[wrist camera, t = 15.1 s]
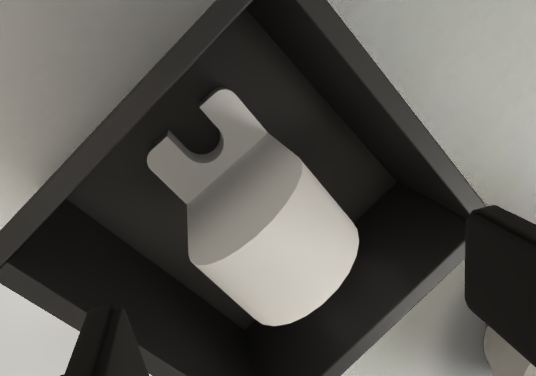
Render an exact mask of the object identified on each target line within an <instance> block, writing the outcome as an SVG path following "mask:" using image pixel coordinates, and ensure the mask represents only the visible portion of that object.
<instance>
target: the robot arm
mask: <svg viewBox="0 0 536 376" xmlns="http://www.w3.org/2000/svg"><path fill="white" fill-rule="evenodd" d="M465 301H466V303H467V305H468V307H469V308H470V310H471V311H472V312H474V313H475V314H476V315H477V316H478V317H479V318H480V319H481V320H483V321H484V322H485V323H486V324H487V325H488V326H489V327H491V328H492V329H493V330H494V331H495V332H496V333H497V334H498V335H500V336H501V337H502V338H503V339H504V340H505V341H506V342H507V343H509V344H510V345H511V346H512V347H513V348H514V349H515V350H516V351H518V352H519V353H520V354H521V355H522V356H523V357H524V358H525V359H527V360H528V361H529V362H530V363H531V364H532V365H533V366H534V367H536V225H535V224H533V223H531V222H529V221H527V220H525V219H523V218H521V217H519V216H517V215H515V214H513V213H510V212H508V211H506V210H504V209H502V208H500V207H498V206H495V205H491V206H487V207H483V208H479V209H475V210H473V211H471V213H470V216H469V217H468V218H467V219H466V225H465ZM61 376H149V374H148V371H147V369H146V366H145V363H144V360H143V358H142V355H141V352H140V349H139V347H138V344H137V341H136V338H135V336H134V333H133V330H132V327H131V325H130V322H129V319H128V316H127V314H126V311H125V309H124V308H119V309H117V307H116V306H115V305H114V304H110V305H107V306H103V307H99V308H95V309H91V310H89V311H88V313H87V315H86V318H85V320H84V323H83V326H82V328H81V331H80V334H79V337H78V339H77V342H76V345H75V348H74V350H73V353H72V356H71V358H70V361H69V364H68V367H67V369H66V372H65V374H64V375H61Z"/></svg>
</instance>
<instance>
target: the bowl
mask: <svg viewBox="0 0 536 376" xmlns="http://www.w3.org/2000/svg"><path fill="white" fill-rule="evenodd" d="M483 347H484V353H485V357H486V359H487V361H488V363H489V364H490V365H491V370H492V376H536V367H534V366H533V365H532V364H531V363H530V362H529V361H528V360H527V359H525V358H524V357H523V356H522V355H521V354H520V353H519V352H518V351H516V350H515V349H514V348H513V347H512V346H511V345H510V344H509V343H507V342H506V341H505V340H504V339H503V338H502V337H501V336H500V335H498V334H497V333H496V332H495V331H494V330H493V329H492V328H491V327H489V326H487V329H486V332H485V336H484V346H483Z"/></svg>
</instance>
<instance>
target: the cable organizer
mask: <svg viewBox="0 0 536 376" xmlns="http://www.w3.org/2000/svg"><path fill="white" fill-rule="evenodd" d="M198 106H199V108H200V109H201V110H202V111H203V112H204V113H205V114H206V116H207V117H208V118H209V119H210V120H211V121H212V122H213V123H214V124H215V126H216V127H217V128H218V129H219V131H220V141H219V143H218V145H217V147H216V148H215V149H214V150H213V151H211V152H210V153H207V154H202V155H200V154H195V153H192V152H190V151H189V150H188V149H187V148H186V147H185V146H184V145H183V144H182V143H181V142H180V141H179V140H178V139H177V138H176V137H175V136H174V135H173V134H172V133H171V132H170V131H169V130H168V131H166V132H165V133H164V134H163V135H162V136H161V137H160V138H159V139H158V140H156V141H155V142H154V143H153V144H152V146H151V148H150V151H149V154H148V156H147V164H148V167H149V168H150V169H151V170H152V171H153V172H154V173H155V174H156V175H157V176H158V177H159V178H160V179H161V180H162V181H163V182H164V183H165V184H166V185H167V186H168V187H169V188H170V189H171V190H172V191H173V192H174V193H175V194H176V195H177V196H178V197H179V198H180V199H182V200H183V201H184V202H185V203H186V204H187V227H188V255H189V258H190V261H191V262H192V263H193V264H194V265H195V266H196V267H197V268H198V269H199V270H201V271H202V272H203V273H204V274H205V275H206V276H207V277H208V278H209V279H211V280H212V281H213V282H214V283H215V284H216V285H217V286H218V287H219V288H221V289H222V290H223V291H224V292H225V293H226V294H227V295H228V296H230V297H231V298H232V299H233V300H234V301H235V302H236V303H237V304H238V305H240V306H241V307H242V308H243V309H244V310H245V311H246V312H247V313H248V314H250V315H251V316H252V317H253V318H254V319H256V320H257V321H258V322H260V323H261V324H263V325H269V326H279V325H285V324H290V323H292V322H294V321H296V320H299V319H301V318H303V317H305V316H307V315H308V314H310V313H311V312H313V311H314V310H315V309H317V308H318V307H320V306H321V305H322V304H324V303H325V302H326V301H327V299H328V298H329V297H330V296H331V295H332V294H333V293H334V292H335V291H336V290H337V289H338V288H339V287H340V285H341V284H342V282H343V281H344V279H345V278H346V277H347V275H348V274H349V272H350V270H351V268H352V265H353V263H354V261H355V259H356V256H357V251H358V245H359V237H358V230H357V228H356V227H355V225H354V224H353V222H352V221H351V219H350V218H349V217H348V216H347V215H346V213H345V212H344V211H343V210H342V209H341V207H340V206H339V205H338V204H337V203H336V201H335V200H334V199H333V198H332V197H331V195H330V194H329V193H328V192H327V191H326V189H325V188H324V187H323V186H322V185H321V183H320V182H319V181H318V180H317V179H316V177H315V176H314V175H313V174H312V173H311V171H310V170H309V169H308V168H307V167H306V165H305V164H304V163H303V162H302V161H301V159H300V158H299V157H298V156H297V155H295V154H294V153H293V152H291V151H290V150H289V149H288V148H286V147H285V146H284V145H283V144H281V143H280V142H279V141H278V140H276V139H275V138H274V137H273V136H271V135H270V134H269V133H268V132H267V131H266V130H265V129H264V128H263V126H262V125H261V124H260V123H259V122H258V120H257V119H256V118H255V117H254V116H253V114H252V113H251V112H250V111H249V110H248V109H247V107H246V106H245V105H244V104H243V103H242V101H241V100H240V99H239V98H238V97H237V96H236V94H234V93H233V92H232V91H230V90H228V89H226V88H223V87H218V88H215V89H213V90H212V91H211V92H210V93H209V94H208V95H206V96H205V97H204V98H203V99H202V100H201V101H200V102H199V103H198Z"/></svg>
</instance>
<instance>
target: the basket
mask: <svg viewBox="0 0 536 376" xmlns="http://www.w3.org/2000/svg"><path fill="white" fill-rule="evenodd" d="M218 87H223V88H226V89H228V90H230V91H232V92H233V93H234V94H236V96H237V97H238V98H239V99H240V100H241V101H242V103H243V104H244V105H245V106H246V107H247V109H248V110H249V111H250V112H251V113H252V114H253V116H254V117H255V118H256V119H257V120H258V122H259V123H260V124H261V125H262V126H263V128H264V129H265V130H266V131H267V132H268V133H269V134H270V135H271V136H273V137H274V138H275V139H276V140H278V141H279V142H280V143H281V144H283V145H284V146H285V147H286V148H288V149H289V150H290V151H291V152H293V153H294V154H295V155H297V156H298V157H299V158H300V159H301V161H302V162H303V163H304V164H305V165H306V167H307V168H308V169H309V170H310V171H311V173H312V174H313V175H314V176H315V177H316V179H317V180H318V181H319V182H320V183H321V185H322V186H323V187H324V188H325V189H326V191H327V192H328V193H329V194H330V195H331V197H332V198H333V199H334V200H335V201H336V203H337V204H338V205H339V206H340V207H341V209H342V210H343V211H344V212H345V213H346V215H347V216H348V217H349V218H350V219H351V221H352V222H353V224H354V225H355V227H356V228H357V230H358V237H359V245H358V251H357V256H356V259H355V261H354V263H353V265H352V268H351V270H350V272H349V274H348V275H347V277H346V278H345V279H344V281H343V282H342V284H341V285H340V287H339V288H338V289H337V290H336V291H335V292H334V293H333V294H332V295H331V296H330V297H329V298H328V299H327V301H326V302H325V303H324V304H322V305H321V306H320V307H318V308H317V309H315V310H314V311H313V312H311V313H310V314H308V315H307V316H305V317H303V318H301V319H299V320H296V321H294V322H292V323H290V324H285V325H279V326H269V325H263V324H261V323H260V322H258V321H257V320H256V319H254V318H253V317H252V316H251V315H250V314H248V313H247V312H246V311H245V310H244V309H243V308H242V307H241V306H240V305H238V304H237V303H236V302H235V301H234V300H233V299H232V298H231V297H230V296H228V295H227V294H226V293H225V292H224V291H223V290H222V289H221V288H219V287H218V286H217V285H216V284H215V283H214V282H213V281H212V280H211V279H209V278H208V277H207V276H206V275H205V274H204V273H203V272H202V271H201V270H199V269H198V268H197V267H196V266H195V265H194V264H193V263H192V262H191V261H190V258H189V255H188V227H187V204H186V203H185V202H184V201H183V200H182V199H180V198H179V197H178V196H177V195H176V194H175V193H174V192H173V191H172V190H171V189H170V188H169V187H168V186H167V185H166V184H165V183H164V182H163V181H162V180H161V179H160V178H159V177H158V176H157V175H156V174H155V173H154V172H153V171H152V170H151V169H150V168H149V167H148V164H147V156H148V154H149V151H150V148H151V146H152V144H153V143H154V142H155V141H156V140H158V139H159V138H160V137H161V136H162V135H163V134H164V133H165V132H166V131H168V130H169V131H170V132H171V133H172V134H173V135H174V136H175V137H176V138H177V139H178V140H179V141H180V142H181V143H182V144H183V145H184V146H185V147H186V148H187V149H188V150H189V151H190V152H192V153H195V154H200V155H202V154H207V153H210V152H211V151H213V150H214V149H215V148H216V147H217V145H218V143H219V141H220V131H219V129H218V128H217V127H216V126H215V124H214V123H213V122H212V121H211V120H210V119H209V118H208V117H207V116H206V114H205V113H204V112H203V111H202V110H201V109H200V108H199V106H198V103H199V102H200V101H201V100H202V99H203V98H204V97H205V96H206V95H208V94H209V93H210V92H211V91H212V90H213V89H215V88H218ZM483 207H487V206H486V205H485V204H484V202H483V201H482V200H481V198H480V197H479V196H478V195H477V193H476V192H475V191H474V189H473V188H472V187H471V186H470V184H469V183H468V182H467V180H466V179H465V178H464V177H463V175H462V174H461V173H460V171H459V170H458V169H457V168H456V166H455V165H454V164H453V162H452V161H451V160H450V159H449V157H448V156H447V155H446V153H445V152H444V151H443V150H442V148H441V147H440V146H439V144H438V143H437V142H436V140H435V139H434V138H433V137H432V135H431V134H430V133H429V131H428V130H427V129H426V128H425V126H424V125H423V124H422V122H421V121H420V120H419V119H418V117H417V116H416V115H415V113H414V112H413V111H412V110H411V108H410V107H409V106H408V104H407V103H406V102H405V101H404V99H403V98H402V97H401V95H400V94H399V93H398V92H397V90H396V89H395V88H394V86H393V85H392V84H391V83H390V81H389V80H388V79H387V77H386V76H385V75H384V74H383V72H382V71H381V70H380V68H379V67H378V66H377V64H376V63H375V62H374V61H373V59H372V58H371V57H370V55H369V54H368V53H367V52H366V50H365V49H364V48H363V46H362V45H361V44H360V43H359V41H358V40H357V39H356V37H355V36H354V35H353V34H352V32H351V31H350V30H349V28H348V27H347V26H346V25H345V23H344V22H343V21H342V19H341V18H340V17H339V16H338V14H337V13H336V12H335V10H334V9H333V8H332V7H331V5H330V4H329V3H328V1H327V0H216V1H215V2H214V3H213V4H212V5H211V6H210V7H209V9H208V10H207V11H206V12H205V13H204V14H203V15H202V16H201V17H200V18H199V19H198V20H197V21H196V22H195V23H194V25H193V26H192V27H191V28H190V29H189V30H188V31H187V32H186V33H185V34H184V35H183V36H182V37H181V38H180V39H179V41H178V42H177V43H176V44H175V45H174V46H173V47H172V48H171V49H170V50H169V51H168V52H167V53H166V54H165V55H164V57H163V58H162V59H161V60H160V61H159V62H158V63H157V64H156V65H155V66H154V67H153V68H152V69H151V70H150V71H149V73H148V74H147V75H146V76H145V77H144V78H143V79H142V80H141V81H140V82H139V83H138V84H137V85H136V86H135V87H134V89H133V90H132V91H131V92H130V93H129V94H128V95H127V96H126V97H125V98H124V99H123V100H122V101H121V102H120V103H119V105H118V106H117V107H116V108H115V109H114V110H113V111H112V112H111V113H110V114H109V115H108V116H107V117H106V118H105V119H104V121H103V122H102V123H101V124H100V125H99V126H98V127H97V128H96V129H95V130H94V131H93V132H92V133H91V134H90V135H89V137H88V138H87V139H86V140H85V141H84V142H83V143H82V144H81V145H80V146H79V147H78V148H77V149H76V150H75V151H74V153H73V154H72V155H71V156H70V157H69V158H68V159H67V160H66V161H65V162H64V163H63V164H62V165H61V166H60V167H59V169H58V170H57V171H56V172H55V173H54V174H53V175H52V176H51V177H50V178H49V179H48V180H47V181H46V182H45V183H44V185H43V186H42V187H41V188H40V189H39V190H38V191H37V192H36V193H35V194H34V195H33V196H32V197H31V198H30V199H29V201H28V202H27V203H26V204H25V205H24V206H23V207H22V208H21V209H20V210H19V211H18V212H17V213H16V214H15V215H14V217H13V218H12V219H11V220H10V221H9V222H8V223H7V224H6V225H5V226H4V227H3V228H2V229H1V230H0V283H1V284H2V285H4V286H6V287H7V288H9V289H11V290H12V291H14V292H16V293H17V294H19V295H21V296H22V297H24V298H25V299H27V300H29V301H30V302H32V303H34V304H35V305H37V306H39V307H40V308H42V309H44V310H45V311H47V312H49V313H50V314H52V315H53V316H55V317H57V318H58V319H60V320H62V321H64V322H65V323H67V324H68V325H70V326H72V327H73V328H75V329H77V330H78V331H81V328H82V326H83V323H84V320H85V318H86V315H87V313H88V311H89V310H91V309H95V308H99V307H103V306H107V305H110V304H114V305H115V306H116V307H117V309H119V308H124V309H125V311H126V314H127V316H128V319H129V322H130V325H131V327H132V330H133V333H134V336H135V338H136V341H137V344H138V347H139V349H140V352H141V355H142V358H143V360H144V363H145V366H146V369H147V371H148V373H149V374H151V375H152V376H341V375H342V374H343V373H344V372H345V371H346V370H347V369H348V368H349V367H350V366H351V365H352V364H353V363H354V362H356V361H357V360H358V359H359V358H360V357H361V356H362V355H363V354H364V353H365V352H366V351H367V350H368V349H369V348H370V347H371V346H373V345H374V344H375V343H376V342H377V341H378V340H379V339H380V338H381V337H382V336H383V335H384V334H385V333H386V332H387V331H388V330H390V329H391V328H392V327H393V326H394V325H395V324H396V323H397V322H398V321H399V320H400V319H401V318H402V317H403V316H404V315H405V314H406V313H408V312H409V311H410V310H411V309H412V308H413V307H414V306H415V305H416V304H417V303H418V302H419V301H420V300H421V299H422V298H423V297H425V296H426V295H427V294H428V293H429V292H430V291H431V290H432V289H433V288H434V287H435V286H436V285H437V284H438V283H439V282H440V281H441V280H443V279H444V278H445V277H446V276H447V275H448V274H449V273H450V272H451V271H452V270H453V269H454V268H455V267H456V266H457V265H458V264H460V263H461V262H462V261H463V260H464V259H465V225H466V219H467V218H468V217H469V216H470V213H471V211H473V210H475V209H479V208H483Z"/></svg>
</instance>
